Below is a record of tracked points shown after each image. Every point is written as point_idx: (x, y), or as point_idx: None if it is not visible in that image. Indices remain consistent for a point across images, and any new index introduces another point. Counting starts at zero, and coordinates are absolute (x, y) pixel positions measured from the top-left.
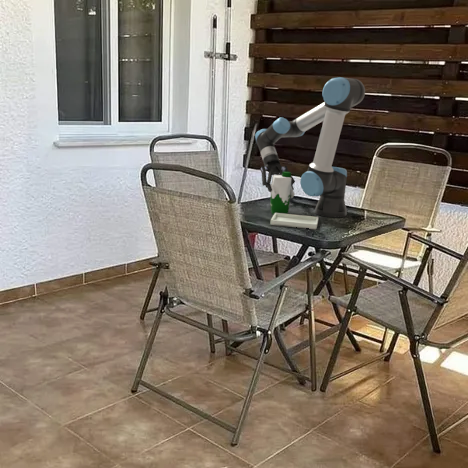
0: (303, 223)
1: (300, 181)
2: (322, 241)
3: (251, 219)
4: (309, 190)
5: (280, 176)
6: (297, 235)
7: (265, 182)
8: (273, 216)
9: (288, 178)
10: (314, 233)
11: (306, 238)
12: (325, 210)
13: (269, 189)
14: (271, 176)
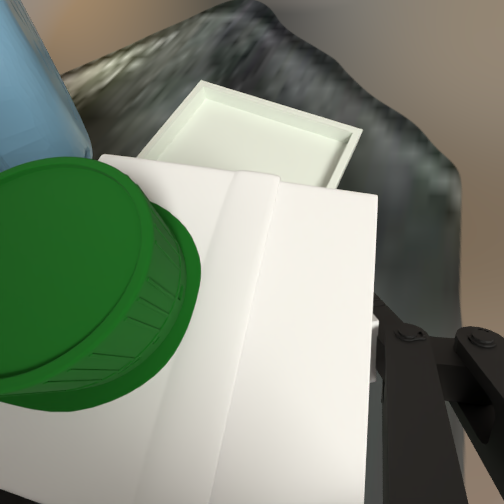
0: (242, 93)
1: (54, 102)
2: (249, 11)
3: (427, 229)
4: (71, 101)
5: (250, 240)
6: (297, 48)
7: (473, 330)
8: (334, 183)
9: (149, 163)
10: (234, 63)
11: (281, 28)
12: None
13: (374, 296)
14: (400, 475)
